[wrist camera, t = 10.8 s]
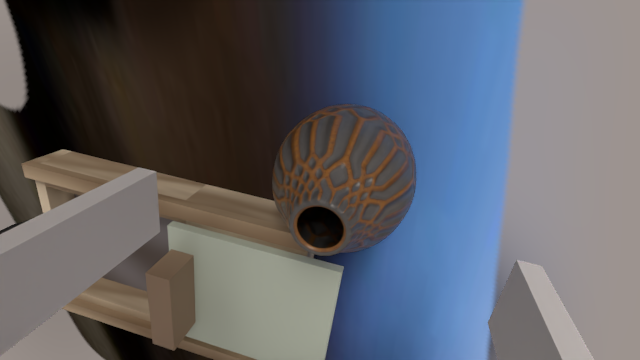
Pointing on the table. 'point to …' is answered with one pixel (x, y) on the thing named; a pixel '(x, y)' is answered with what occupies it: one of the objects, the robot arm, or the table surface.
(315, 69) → the table surface
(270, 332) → the lid
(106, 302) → the wooden box
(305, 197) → the vase
